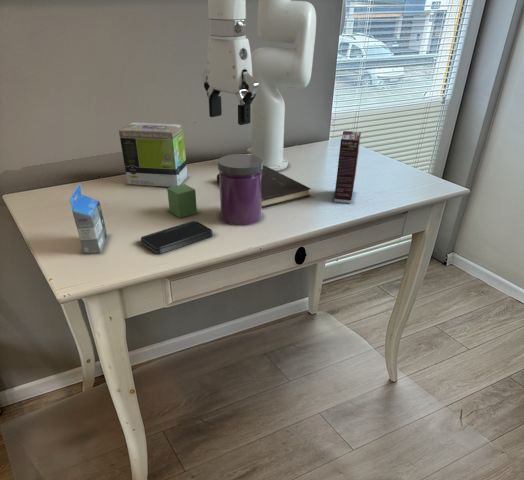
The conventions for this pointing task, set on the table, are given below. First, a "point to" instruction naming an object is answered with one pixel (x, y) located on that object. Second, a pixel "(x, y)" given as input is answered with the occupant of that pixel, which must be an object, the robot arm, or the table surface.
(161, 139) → the tea box
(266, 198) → the hardcover book
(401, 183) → the table surface
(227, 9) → the robot arm
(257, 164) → the jar
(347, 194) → the supplement box
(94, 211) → the label tape box
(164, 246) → the phone
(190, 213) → the green block
